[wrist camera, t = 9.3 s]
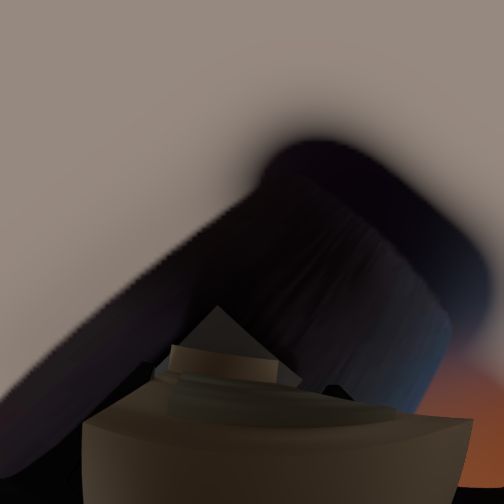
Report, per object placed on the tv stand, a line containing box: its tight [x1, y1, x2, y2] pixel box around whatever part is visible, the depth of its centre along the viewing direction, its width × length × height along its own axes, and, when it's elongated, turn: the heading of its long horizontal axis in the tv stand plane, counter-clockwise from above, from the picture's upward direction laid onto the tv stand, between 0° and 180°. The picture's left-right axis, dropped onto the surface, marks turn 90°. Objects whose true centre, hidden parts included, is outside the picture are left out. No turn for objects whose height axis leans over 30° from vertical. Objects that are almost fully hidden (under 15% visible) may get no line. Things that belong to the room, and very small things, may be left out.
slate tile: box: [155, 305, 302, 388], centre depth 14 cm, size 7×14×1 cm, turn 139°
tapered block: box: [82, 345, 473, 504], centre depth 8 cm, size 6×5×13 cm
